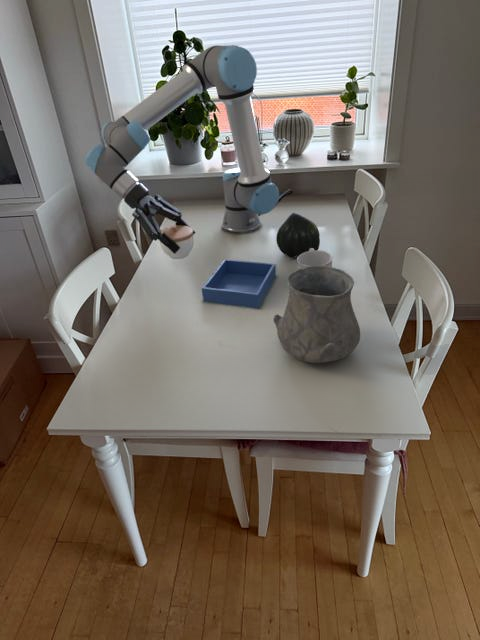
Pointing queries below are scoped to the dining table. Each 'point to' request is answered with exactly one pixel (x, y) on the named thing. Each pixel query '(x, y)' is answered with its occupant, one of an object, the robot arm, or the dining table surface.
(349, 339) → the vessel
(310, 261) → the teacup
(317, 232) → the squash
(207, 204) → the dining table surface
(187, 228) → the trinket box
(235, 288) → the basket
